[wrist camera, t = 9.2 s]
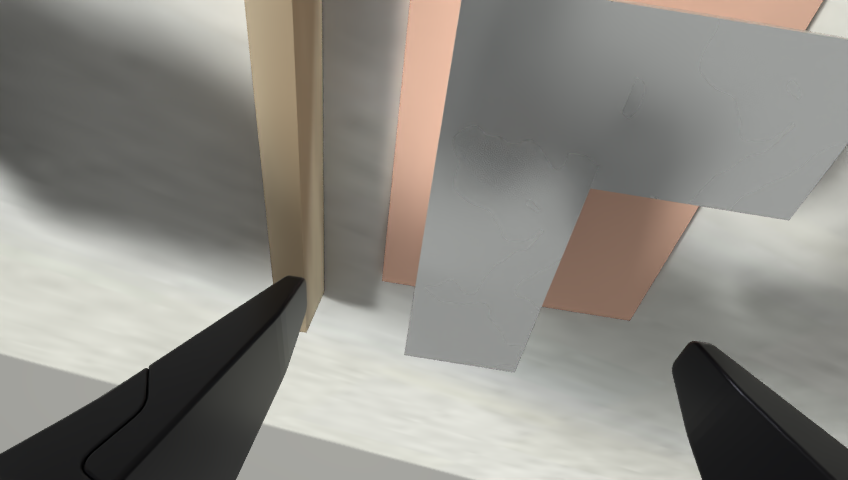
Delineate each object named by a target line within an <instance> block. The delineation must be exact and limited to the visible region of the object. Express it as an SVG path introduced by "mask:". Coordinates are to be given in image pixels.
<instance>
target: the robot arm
mask: <svg viewBox="0 0 848 480" xmlns="http://www.w3.org/2000/svg"><path fill="white" fill-rule="evenodd" d="M306 309H307V286H306V280H305V279H304V278H303V277H297V276H291V275H288V276H285V277H284V278H282V279H281V280H279V281H278V282H276V283H274V284H273V285H271V286H270V287H268V288H267V289H265V290H264V291H262V292H261V293H259V294H258V295H256V296H255V297H253V298H252V299H250V300H249V301H247V302H246V303H244V304H242V305H241V306H239V307H238V308H236V309H235V310H233V311H232V312H230V313H229V314H227V315H226V316H224V317H223V318H221V319H220V320H218V321H217V322H215V323H214V324H212V325H210V326H209V327H207V328H206V329H204V330H203V331H201V332H200V333H198V334H197V335H195V336H194V337H192V338H191V339H189V340H188V341H186V342H185V343H183V344H181V345H180V346H178V347H177V348H175V349H174V350H172V351H171V352H169V353H168V354H166V355H165V356H163V357H162V358H160V359H159V360H157V361H156V362H154V363H153V364H151V365H150V366H149V369H148V368H145V369H143V370H142V371H140V372H139V373H137V374H135V375H134V376H132V377H131V378H129V379H128V380H126V381H125V382H123V383H122V384H120V385H118V386H117V387H115V388H114V389H112V390H110V391H109V392H107V393H106V394H104V395H102V396H101V397H99V398H98V399H96V400H94V401H93V402H91V403H89V404H88V405H86V406H84V407H82V408H81V409H79V410H77V411H75V412H74V413H72V414H70V415H69V416H67V417H65V418H63V419H62V420H60V421H58V422H57V423H55V424H53V425H51V426H49V427H47V428H46V429H44V430H42V431H40V432H39V433H37V434H35V435H33V436H31V437H30V438H28V439H26V440H24V441H23V442H21V443H19V444H17V445H15V446H13V447H12V448H10V449H8V450H6V451H5V452H3V453H1V454H0V480H236V478H237V476H238V474H239V472H240V470H241V468H242V466H243V463H244V461H245V459H246V457H247V455H248V453H249V451H250V448H251V446H252V444H253V442H254V440H255V438H256V436H257V433H258V431H259V429H260V427H261V425H262V423H263V421H264V419H265V416H266V414H267V412H268V410H269V408H270V406H271V404H272V401H273V399H274V397H275V395H276V393H277V391H278V389H279V386H280V384H281V382H282V380H283V378H284V375H285V373H286V370H287V368H288V365H289V362H290V359H291V356H292V353H293V350H294V347H295V344H296V341H297V338H298V335H299V332H300V329H301V326H302V323H303V320H304V317H305V314H306ZM672 374H673V378H674V383H675V387H676V391H677V395H678V400H679V404H680V408H681V412H682V416H683V421H684V425H685V429H686V433H687V436H688V440H689V443H690V446H691V449H692V452H693V455H694V458H695V460H696V463H697V466H698V469H699V472H700V475H701V478H702V480H848V448H846V447H845V446H844V445H842V444H841V443H840V442H838V441H837V440H836V439H835V438H833V437H832V436H831V435H829V434H828V433H827V432H826V431H824V430H823V429H822V428H820V427H819V426H818V425H816V424H815V423H814V422H813V421H811V420H810V419H809V418H807V417H806V416H805V415H803V414H802V413H801V412H800V411H798V410H797V409H796V408H794V407H793V406H792V405H791V404H789V403H788V402H787V401H785V400H784V399H783V398H781V397H780V396H779V395H778V394H776V393H775V392H774V391H772V390H771V389H770V388H769V387H767V386H766V385H765V384H763V383H762V382H761V381H759V380H758V379H757V378H756V377H754V376H753V375H752V374H750V373H749V372H748V371H747V370H745V369H744V368H743V367H741V366H740V365H739V364H737V363H736V362H735V361H734V360H732V359H731V358H730V357H728V356H727V355H726V354H724V353H723V352H722V351H721V350H719V349H718V348H717V347H715V346H714V345H712V344H710V343H705V342H699V341H692V342H690V343H688V344H687V346H686V347H685V348H684V350H683V351H682V352H681V354H680V355H679V356H678V358H677V359H676V360H675V362H674V363H673V367H672Z"/></svg>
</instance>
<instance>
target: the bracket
mask: <svg viewBox="0 0 848 480" xmlns="http://www.w3.org/2000/svg"><path fill="white" fill-rule="evenodd" d="M847 144H848V38H844V37H839V36H833V35H828V34H822V33H817V32H811V31H806V30H800V29H795V28H789V27H783V26H778V25H772V24H767V23H761V22H756V21H750V20H744V19H738V18H732V17H726V16H720V15H713V14H707V13H701V12H695V11H689V10H683V9H677V8H670V7H664V6H658V5H652V4H646V3H640V2H634V1H627V0H461V3H460V9H459V15H458V22H457V28H456V34H455V40H454V47H453V53H452V59H451V65H450V72H449V78H448V84H447V90H446V97H445V103H444V109H443V115H442V121H441V128H440V134H439V140H438V146H437V153H436V159H435V165H434V171H433V178H432V184H431V190H430V196H429V203H428V209H427V215H426V221H425V228H424V234H423V240H422V246H421V252H420V259H419V265H418V271H417V278H416V284H415V291H414V297H413V303H412V310H411V316H410V322H409V329H408V335H407V341H406V348H405V354H404V355H408V356H414V357H420V358H427V359H433V360H439V361H446V362H452V363H458V364H465V365H471V366H477V367H484V368H490V369H496V370H503V371H509V372H515V370H516V368H517V365H518V363H519V360H520V358H521V356H522V353H523V351H524V348H525V346H526V343H527V341H528V339H529V336H530V334H531V331H532V329H533V326H534V324H535V322H536V319H537V317H538V314H539V312H540V309H541V307H542V305H543V302H544V300H545V297H546V295H547V293H548V290H549V288H550V285H551V283H552V280H553V278H554V276H555V273H556V271H557V268H558V266H559V263H560V261H561V259H562V256H563V254H564V251H565V249H566V246H567V244H568V242H569V239H570V237H571V234H572V232H573V229H574V227H575V225H576V222H577V220H578V217H579V215H580V213H581V210H582V208H583V205H584V203H585V200H586V198H587V196H588V193H589V191H590V189H597V190H603V191H609V192H615V193H621V194H628V195H634V196H640V197H646V198H653V199H659V200H665V201H671V202H678V203H684V204H690V205H696V206H703V207H709V208H715V209H721V210H728V211H734V212H740V213H746V214H753V215H759V216H765V217H771V218H777V219H784V220H790V218H791V217H792V216H793V215H794V213H795V212H796V211H797V209H798V208H799V207H800V205H801V204H802V203H803V201H804V200H805V199H806V198H807V196H808V195H809V194H810V192H811V191H812V190H813V188H814V187H815V186H816V184H817V183H818V182H819V181H820V179H821V178H822V177H823V175H824V174H825V173H826V171H827V170H828V169H829V167H830V166H831V165H832V164H833V162H834V161H835V160H836V158H837V157H838V156H839V154H840V153H841V152H842V150H843V149H844V148H845V147H846V145H847Z"/></svg>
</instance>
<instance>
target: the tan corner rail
mask: <svg viewBox="0 0 848 480" xmlns="http://www.w3.org/2000/svg"><path fill="white" fill-rule="evenodd" d="M244 1H245V11H246V21H247V31H248V41H249V51H250V61H251V70H252V80H253V90H254V100H255V110H256V120H257V129H258V139H259V149H260V159H261V169H262V179H263V189H264V198H265V208H266V218H267V228H268V238H269V248H270V257H271V267H272V277H273V284H274V283H276V282H278V281H279V280H281V279H282V278H284V277H285V276H288V275H291V276H297V277H303V278H304V279H305V280H306V286H307V309H306V314H305V317H304V320H303V323H302V326H301V329H300V332H306V333H307V330H308V328H309V326H310V323H311V321H312V319H313V317H314V314H315V312H316V310H317V307H318V305H319V303H320V300H321V298H322V296H323V294H324V209H323V66H322V0H244Z"/></svg>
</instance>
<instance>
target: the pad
mask: <svg viewBox="0 0 848 480" xmlns="http://www.w3.org/2000/svg"><path fill="white" fill-rule="evenodd" d="M627 1H634V2H640V3H646V4H652V5H658V6H664V7H670V8H677V9H683V10H689V11H695V12H701V13H707V14H713V15H720V16H726V17H732V18H738V19H744V20H750V21H756V22H761V23H767V24H772V25H778V26H783V27H789V28H795V29H800V30H806V28H807V26H808V25H809V23H810V21H811V20H812V18H813V16H814V15H815V13H816V11H817V10H818V8H819V6H820V5H821V3H822V2H823V0H627ZM460 3H461V0H410V6H409V16H408V26H407V36H406V46H405V56H404V66H403V76H402V86H401V96H400V106H399V116H398V126H397V136H396V146H395V156H394V166H393V176H392V186H391V196H390V206H389V216H388V226H387V235H386V245H385V255H384V265H383V275H382V281H385V282H392V283H398V284H404V285H410V286H415V284H416V278H417V271H418V265H419V259H420V252H421V246H422V240H423V234H424V228H425V221H426V215H427V209H428V203H429V196H430V190H431V184H432V178H433V171H434V165H435V159H436V153H437V146H438V140H439V134H440V128H441V121H442V115H443V109H444V103H445V97H446V90H447V84H448V78H449V72H450V65H451V59H452V53H453V47H454V40H455V34H456V28H457V22H458V15H459V9H460ZM698 207H699V206H696V205H690V204H684V203H678V202H671V201H665V200H659V199H653V198H646V197H640V196H634V195H628V194H621V193H615V192H609V191H603V190H597V189H590V191H589V193H588V196H587V198H586V200H585V203H584V205H583V208H582V210H581V213H580V215H579V217H578V220H577V222H576V225H575V227H574V229H573V232H572V234H571V237H570V239H569V242H568V244H567V246H566V249H565V251H564V254H563V256H562V259H561V261H560V263H559V266H558V268H557V271H556V273H555V276H554V278H553V280H552V283H551V285H550V288H549V290H548V293H547V295H546V297H545V300H544V302H543V305H542V307H548V308H554V309H560V310H566V311H573V312H579V313H585V314H591V315H598V316H604V317H610V318H616V319H623V320H629V321H630V320H631V318H632V316H633V315H634V313H635V311H636V310H637V308H638V306H639V305H640V303H641V301H642V300H643V298H644V296H645V295H646V293H647V291H648V290H649V288H650V287H651V285H652V283H653V282H654V280H655V278H656V277H657V275H658V273H659V272H660V270H661V268H662V267H663V265H664V263H665V262H666V260H667V258H668V257H669V255H670V253H671V252H672V250H673V248H674V247H675V245H676V243H677V242H678V240H679V238H680V237H681V235H682V233H683V232H684V230H685V229H686V227H687V225H688V224H689V222H690V220H691V219H692V217H693V215H694V214H695V212H696V210H697V209H698Z"/></svg>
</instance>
